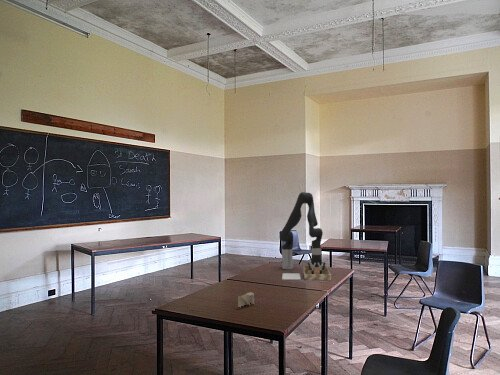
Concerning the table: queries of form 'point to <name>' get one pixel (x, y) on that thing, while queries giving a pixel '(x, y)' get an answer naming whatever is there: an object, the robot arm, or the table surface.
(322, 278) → the frame
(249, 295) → the model
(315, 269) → the terracotta pot
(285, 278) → the grey mat
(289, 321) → the table surface
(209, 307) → the table surface
